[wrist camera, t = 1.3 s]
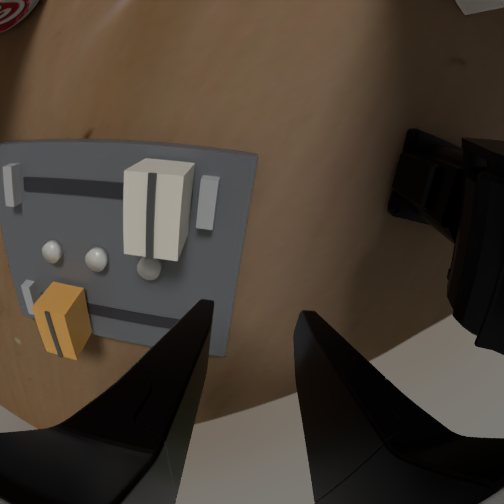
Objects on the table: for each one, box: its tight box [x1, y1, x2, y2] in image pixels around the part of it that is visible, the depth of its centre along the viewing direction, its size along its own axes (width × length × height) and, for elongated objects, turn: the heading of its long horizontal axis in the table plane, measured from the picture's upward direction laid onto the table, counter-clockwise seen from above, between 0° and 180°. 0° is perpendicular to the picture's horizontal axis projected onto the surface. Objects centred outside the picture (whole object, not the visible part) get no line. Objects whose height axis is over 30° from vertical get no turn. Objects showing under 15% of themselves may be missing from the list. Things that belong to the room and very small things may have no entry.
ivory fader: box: [123, 158, 195, 261], centre depth 16 cm, size 3×4×4 cm, turn 171°
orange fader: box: [32, 282, 92, 360], centre depth 19 cm, size 3×4×4 cm, turn 171°
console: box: [0, 139, 258, 357], centre depth 20 cm, size 20×16×2 cm
